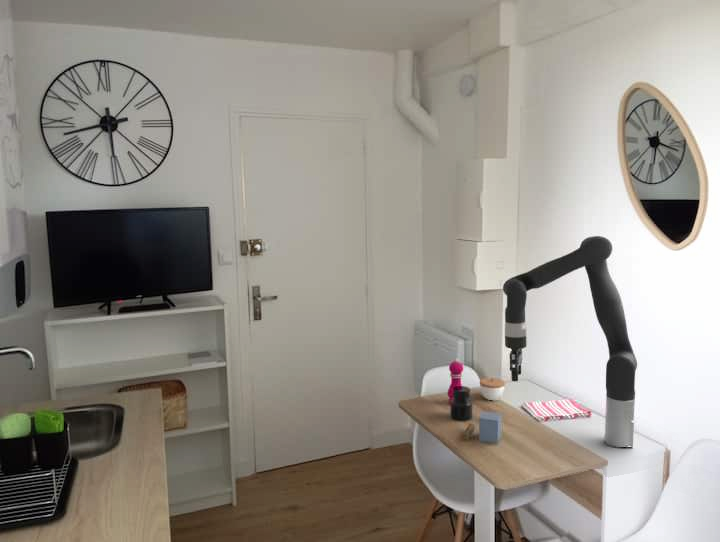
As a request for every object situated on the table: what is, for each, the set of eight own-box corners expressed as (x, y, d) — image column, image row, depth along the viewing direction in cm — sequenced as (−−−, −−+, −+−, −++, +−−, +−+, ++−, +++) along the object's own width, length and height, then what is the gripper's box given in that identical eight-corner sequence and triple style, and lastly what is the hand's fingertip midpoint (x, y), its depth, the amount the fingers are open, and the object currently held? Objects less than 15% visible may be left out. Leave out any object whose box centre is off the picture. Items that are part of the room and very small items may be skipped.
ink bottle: (474, 414, 231) (474, 386, 229) (473, 422, 222) (473, 393, 221) (450, 412, 233) (450, 384, 232) (448, 420, 225) (448, 391, 223)
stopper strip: (474, 430, 214) (474, 424, 214) (468, 441, 205) (468, 434, 205) (469, 429, 215) (469, 423, 215) (462, 440, 206) (462, 433, 206)
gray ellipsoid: (503, 436, 209) (503, 435, 209) (499, 444, 202) (499, 444, 202) (481, 432, 212) (481, 432, 212) (476, 441, 205) (476, 440, 205)
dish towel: (593, 418, 225) (593, 410, 225) (539, 423, 221) (539, 415, 221) (570, 403, 242) (571, 395, 241) (520, 408, 238) (520, 400, 238)
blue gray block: (501, 436, 209) (501, 413, 207) (497, 443, 203) (497, 420, 201) (482, 433, 211) (483, 411, 210) (478, 440, 205) (479, 417, 204)
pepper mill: (446, 400, 246) (446, 356, 244) (463, 400, 246) (463, 356, 244) (448, 406, 239) (448, 361, 237) (465, 406, 239) (466, 361, 236)
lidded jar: (488, 392, 256) (489, 372, 254) (509, 398, 248) (509, 377, 247) (474, 398, 248) (474, 378, 247) (495, 404, 241) (495, 383, 239)
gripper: (523, 339, 195) (524, 384, 197) (528, 330, 208) (529, 372, 210) (501, 338, 198) (502, 382, 200) (507, 329, 211) (508, 371, 212)
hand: (516, 377), depth 205 cm, fingers open, 8 cm apart
